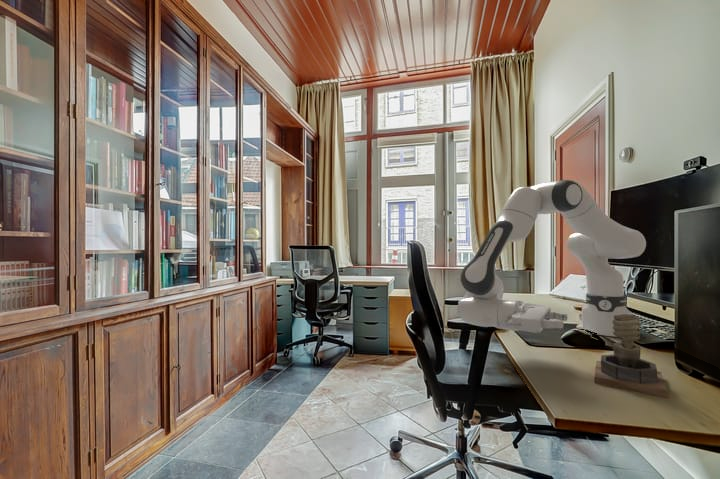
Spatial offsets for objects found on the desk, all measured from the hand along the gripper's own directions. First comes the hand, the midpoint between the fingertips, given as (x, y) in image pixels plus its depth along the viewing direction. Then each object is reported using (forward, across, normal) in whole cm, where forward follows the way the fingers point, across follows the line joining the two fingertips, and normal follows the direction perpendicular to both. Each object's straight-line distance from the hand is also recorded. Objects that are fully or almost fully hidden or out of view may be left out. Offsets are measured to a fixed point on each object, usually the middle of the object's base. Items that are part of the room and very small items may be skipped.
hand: (565, 321), depth 88 cm
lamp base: (+13, -1, +13) cm, 18 cm away
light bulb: (+13, -1, +12) cm, 17 cm away
